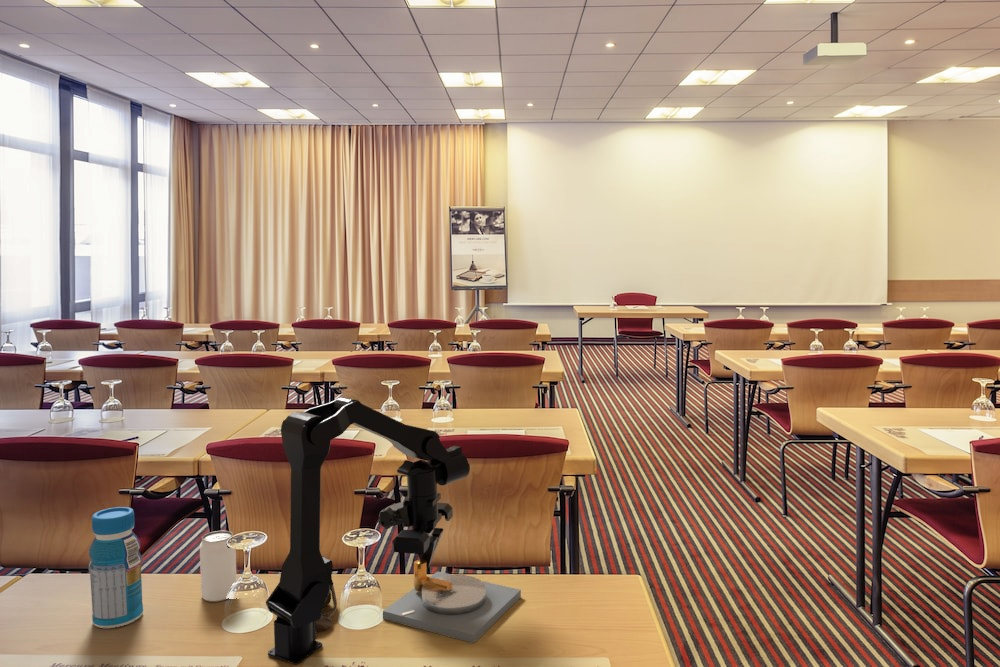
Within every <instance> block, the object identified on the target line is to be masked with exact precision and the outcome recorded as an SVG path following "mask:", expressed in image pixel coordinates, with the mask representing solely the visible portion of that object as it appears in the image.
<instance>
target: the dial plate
mask: <svg viewBox="0 0 1000 667" xmlns="http://www.w3.org/2000/svg"><path fill="white" fill-rule="evenodd" d="M445 575H453V574H451V573H445V572H442V571H436V572H435V573H433V574H432V575H430V576H429V577H431V578H436V577H440V576H445ZM481 581H482V580H481ZM482 582H483V583H484V584H485V587H486V600H485V602H484V604H483V605H481V606H480V607H479V608H477V609H475V610H472V611H469V612H465V613H459V614H444V613H438V612H435V611H432V610H430V609H428V608H426V607H425V606H424V605H423V603H422V591H416V590H415V589H414V588H412V589H411V590H410V591H408V592H407V593H406V594H404V595H403V596H401V597H400V598H398V599H397V600H396V601H395V602H393V603H392V604H390V605H389V606H388V607H386V608H385V609H383V610H382V620H385V621H389V622H393V623H397V624H399V625H404V626H408V627H412V628H415V629H419V630H424V631H427V632H430V633H434V634H438V635H442V636H444V637H445V636H446V637H449V638H453V639H456V640H460V641H464V642H467V643H472V644H475V643H476V642H477V641H478V640H479V639H480V637H482V636H483V635H484V634H485V633H487V631H488V630H489V629H490V628H491V627H492V626H493V625H494V624H495V623H496V622H498V620H499V619H500V618H501V617H502V616H503V615H505V613H506V612H507V611H508V610H509V609H510V608H511V607H513V605H515V604H516V603H517V602H518V600H519V599H520V598H521V597H522V590H521V589H519V588H514V587H509V586H506V585H502V584H501V585H500V584H496V583H492V582H487V581H482Z"/></svg>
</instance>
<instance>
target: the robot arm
mask: <svg viewBox="0 0 1000 667" xmlns="http://www.w3.org/2000/svg"><path fill="white" fill-rule="evenodd" d="M351 425H354V426H356V427H357V428H360V429H362V430H364V431H367V432H369V433H371V434H373V435H376V436H378V437H381V438H382V439H385V440H386V441H388V442H390V443H391V444H392V446H393V447H394V448H395V449H396V450H398V451H399V452H400V453H402V454H403V455H405V456H409V457H413V458H415V459H418V460H416V461H411V460H407V459H405V460H404V461H403V462H402V463H401V465H400V466H399V467H398V468H397V469H396V472H397V473H398V474H401V475H403V476H406V485H407V497H406V498H405V499H404V500H403V501H400V502H397V503H394V504H391V505H389V506H387V507H385V508H383V509H382V510H381V511H379V515H378V516H377V517H378V521H377V522H378V524H379V525H380V526H381V527H382V528H384V530H389V529H391V527H392V528H393V527H395V526H398V525H402V527H405V528H410V527H411V529H402V530H401V531H400V532H399V533H398V534H397V535H396V536H395V537H394V538H393V539H392V541H391V547H392V548H391V549H392V552H394V553H399V554H402V553H403V554H410V555H411V554H413V555H417V556H418V560H425V561H426V567H427V570H428V569H429V567H430V565H431V563H432V560H433V558H434V555H435V552H436V550H437V547H438V545H439V542H440V539H441V537H442V534H443V532H444V530H445V529H444V528H442V527H437V526H438V523H439V522H440V520H442V517H444V520H445V522H450V521H451V519H452V518H453V507H452V506H451V505H450V503H447V502H439V501H440V500H441V499H442V497H441V496H442V495H441V492H438V485H440V486H446V485H448V484H452V483H455V482H457V481H460V480H463V479H466V478H467V477H468V476H469V474H470V471H471V470H470V468H471V465H470V463H469V461H468V458H467V457H466V455H465V454H464V453H463V451H462V450H463V448H462V447H461V446H458V445H453V446H450V447H449V448H445V446H444V445H443V444H442V442H441V438H440V437H441V436H440V434H439V433H438V432H437V431H435V430H430V429H427V428H422V427H417V426H413V425H409V424H405V423H402V421H401V422H400V421H399V420H397V419H395V418H393V417H390V416H389V415H387V414H384V413H383V412H380V411H378V410H375V409H374V408H372V407H370V406H367V405H365V404H363V403H362V402H361V401H360V400H358V399H355V398H350V397H345V396H344V397H341V396H340V397H339V398H336V399H334V400H332V401H329V402H327V403H324V404H320V405H318V406H314V407H310V408H308V409H306V410H304V411H294V412H291V413H290V414H288V415H287V416H286V418H285V419H283V421H282V423H281V426H280V434H281V435H280V436H281V440H282V448H283V451H284V454H285V456H286V458H287V461H288V463H289V465H290V524H289V526H290V527H289V528H290V529H289V531H290V533H289V535H290V536H289V537H290V540H289V552H288V554H287V556H286V558H285V559H284V561H283V563H282V567H281V572H280V578H279V583H278V584H277V585H276V586H275V588H274V589H273V591H272V592H271V593H270V595H269V596H268V598H267V599H266V601H265V605H266V606H267V609H268V612H270V613H271V614H274V615H275V616H276V619H275V620H273V631H274V632H273V634H274V636H273V637H274V638H273V639H274V640H273V642H274V647H273V648H271V649H270V650H268V651H267V655H268V656H269V657H272V658H275V659H278V660H281V661H284V662H287V663H290V664H293V665H297V664H300V663H301V662H303V661H304V660H305V659H307V658H308V657H310V656H311V655H312V654H314V653H315V652H316V651H318V650H319V649H320V648H322V647H323V642H321V641H317V640H316V639H317V631H316V620H319V619H320V617H321V615H322V613H323V610H324V609H323V606H324V603H325V599H326V598H327V597H328V595H329V590H330V585H333V586H334V581H333V578H332V577H333V576H332V575H333V567H334V565H333V560H331V559H330V558H327V557H325V556H323V555H322V553H321V497H322V496H321V493H322V492H321V488H322V485H321V484H322V483H321V482H322V481H321V480H322V466H323V464H324V462H325V460H326V458H327V457H328V455H329V453H330V449H331V441H332V440H334V439H335V438H337V437H339V436H341V435H342V434H344V432H345V431H347V430H348V429H349V427H350V426H351ZM330 591H331V590H330Z"/></svg>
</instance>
